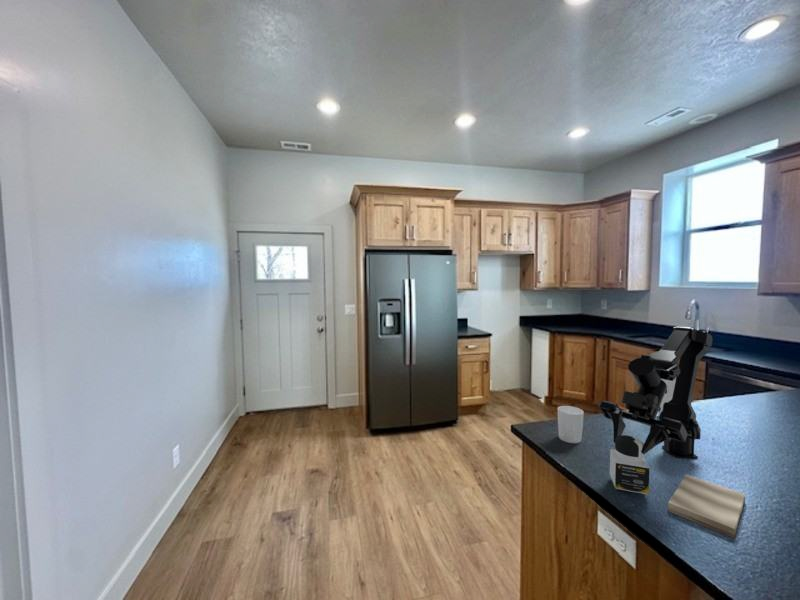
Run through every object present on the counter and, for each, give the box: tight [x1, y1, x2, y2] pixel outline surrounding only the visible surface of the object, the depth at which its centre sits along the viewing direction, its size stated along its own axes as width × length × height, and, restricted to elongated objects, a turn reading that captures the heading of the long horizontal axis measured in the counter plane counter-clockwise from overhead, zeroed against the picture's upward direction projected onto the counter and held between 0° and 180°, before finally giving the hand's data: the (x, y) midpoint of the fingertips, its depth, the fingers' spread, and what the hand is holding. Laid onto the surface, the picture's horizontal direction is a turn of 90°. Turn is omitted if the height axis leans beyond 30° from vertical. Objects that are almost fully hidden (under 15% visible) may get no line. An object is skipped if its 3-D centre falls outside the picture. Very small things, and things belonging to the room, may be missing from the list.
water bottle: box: [657, 378, 676, 416], centre depth 132 cm, size 7×7×25 cm
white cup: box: [557, 405, 585, 444], centre depth 114 cm, size 8×8×10 cm
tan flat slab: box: [667, 474, 746, 539], centre depth 80 cm, size 18×11×2 cm, turn 130°
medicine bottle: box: [609, 434, 650, 495], centre depth 87 cm, size 7×7×12 cm
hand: (628, 447), depth 86 cm, fingers closed on medicine bottle, 6 cm apart
